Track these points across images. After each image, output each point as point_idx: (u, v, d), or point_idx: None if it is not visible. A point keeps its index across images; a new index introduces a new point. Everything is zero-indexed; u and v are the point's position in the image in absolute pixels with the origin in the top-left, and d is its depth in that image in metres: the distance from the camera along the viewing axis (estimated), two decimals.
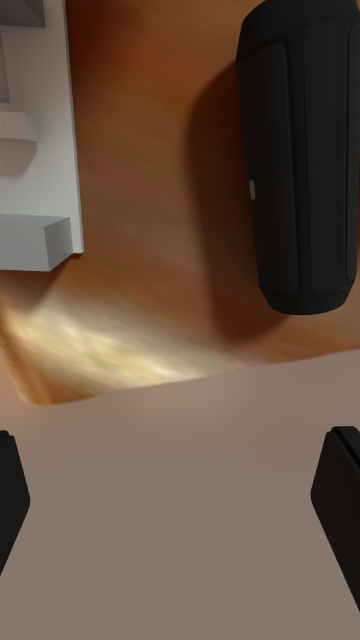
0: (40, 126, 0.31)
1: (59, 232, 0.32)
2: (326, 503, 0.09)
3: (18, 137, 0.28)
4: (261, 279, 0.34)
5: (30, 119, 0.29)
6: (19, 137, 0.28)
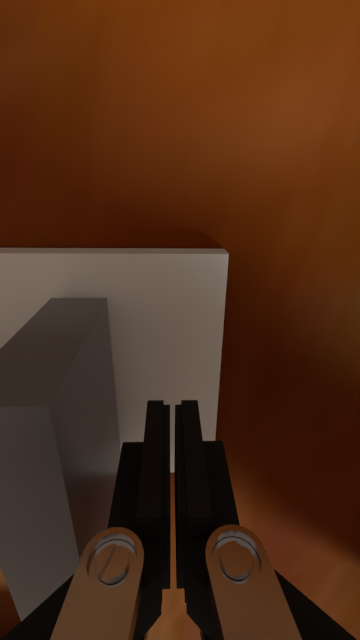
0: None
1: None
2: None
3: None
4: None
5: None
6: None
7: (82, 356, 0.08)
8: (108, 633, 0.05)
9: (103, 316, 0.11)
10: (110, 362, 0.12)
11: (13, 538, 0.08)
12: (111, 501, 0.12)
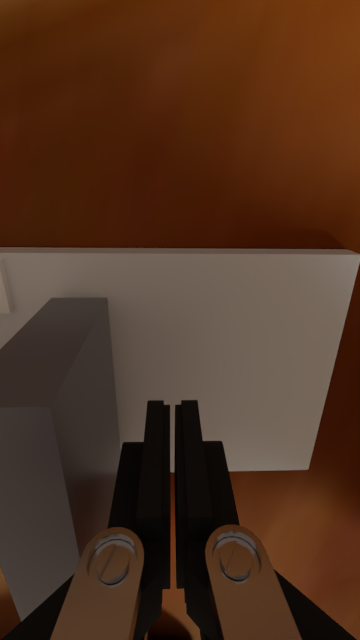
0: None
1: None
2: None
3: None
4: None
5: None
6: None
7: (83, 356, 0.08)
8: (108, 633, 0.05)
9: (103, 316, 0.11)
10: (110, 362, 0.12)
11: (13, 539, 0.08)
12: (111, 501, 0.12)
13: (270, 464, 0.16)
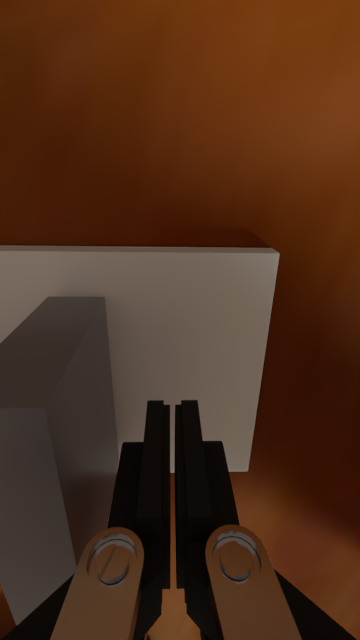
0: None
1: None
2: None
3: None
4: None
5: None
6: None
7: (79, 356, 0.08)
8: (108, 633, 0.05)
9: (101, 315, 0.11)
10: (108, 362, 0.12)
11: (8, 542, 0.07)
12: (108, 502, 0.12)
13: None
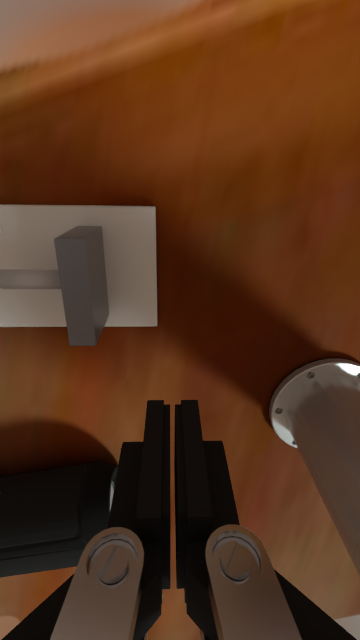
0: (9, 296, 0.29)
1: None
2: None
3: None
4: None
5: None
6: None
7: (92, 237, 0.23)
8: (108, 633, 0.05)
9: (100, 232, 0.26)
10: (103, 257, 0.27)
11: (69, 295, 0.22)
12: (103, 320, 0.27)
13: (136, 322, 0.30)
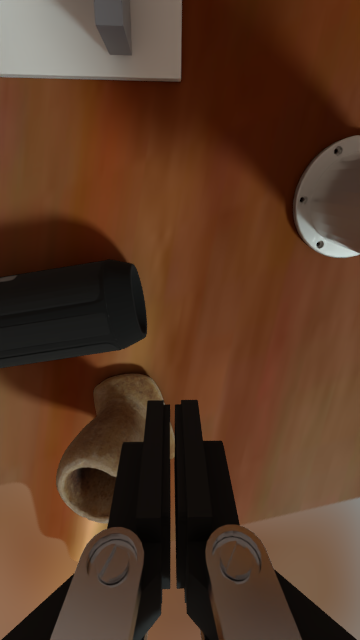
0: (28, 31, 0.28)
1: None
2: None
3: None
4: None
5: None
6: None
7: None
8: (108, 633, 0.05)
9: None
10: None
11: None
12: (128, 36, 0.26)
13: (159, 72, 0.29)
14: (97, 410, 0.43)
